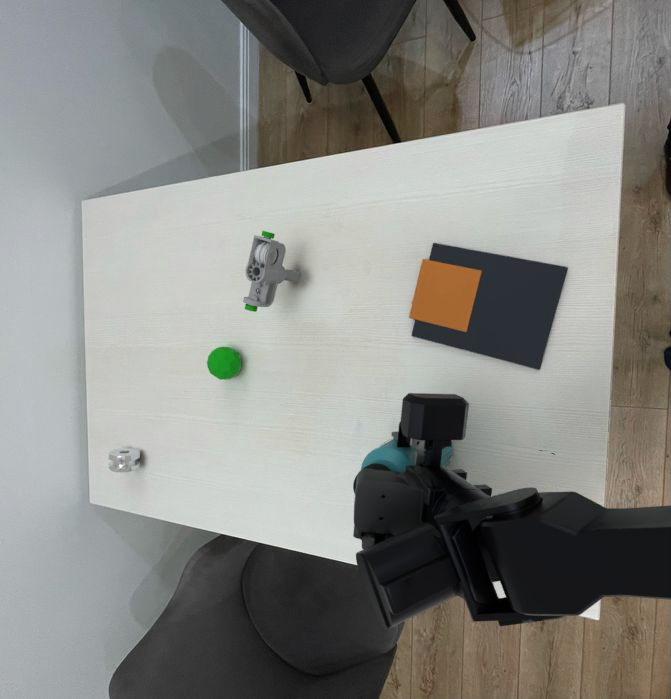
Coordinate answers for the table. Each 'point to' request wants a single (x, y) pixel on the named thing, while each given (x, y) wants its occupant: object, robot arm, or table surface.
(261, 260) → the mechanical component
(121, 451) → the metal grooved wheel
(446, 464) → the beverage bottle
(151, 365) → the table surface
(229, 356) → the polyhedron
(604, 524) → the robot arm
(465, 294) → the pad
